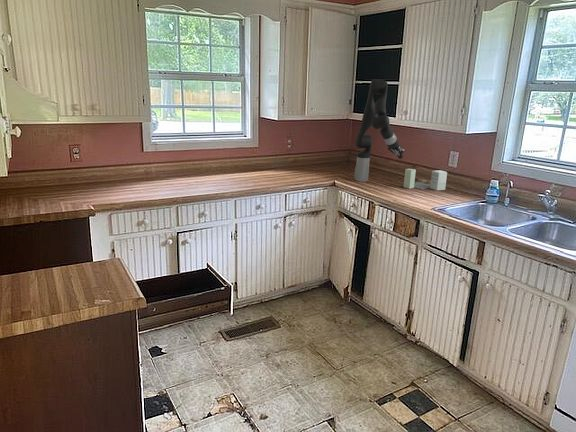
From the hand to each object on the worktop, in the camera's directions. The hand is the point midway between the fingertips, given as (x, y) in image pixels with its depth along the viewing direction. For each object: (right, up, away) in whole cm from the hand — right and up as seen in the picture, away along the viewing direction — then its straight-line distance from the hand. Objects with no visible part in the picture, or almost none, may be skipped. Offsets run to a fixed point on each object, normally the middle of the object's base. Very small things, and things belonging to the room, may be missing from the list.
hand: (401, 157), depth 296 cm
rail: (+26, -16, +27) cm, 41 cm away
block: (+9, -19, +13) cm, 25 cm away
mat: (+19, -17, +21) cm, 33 cm away
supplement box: (+28, -20, +13) cm, 37 cm away
